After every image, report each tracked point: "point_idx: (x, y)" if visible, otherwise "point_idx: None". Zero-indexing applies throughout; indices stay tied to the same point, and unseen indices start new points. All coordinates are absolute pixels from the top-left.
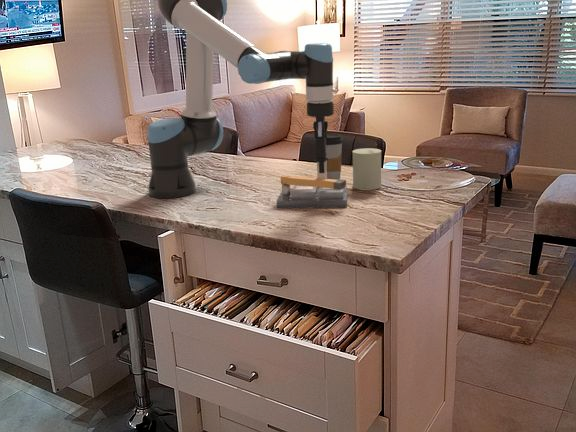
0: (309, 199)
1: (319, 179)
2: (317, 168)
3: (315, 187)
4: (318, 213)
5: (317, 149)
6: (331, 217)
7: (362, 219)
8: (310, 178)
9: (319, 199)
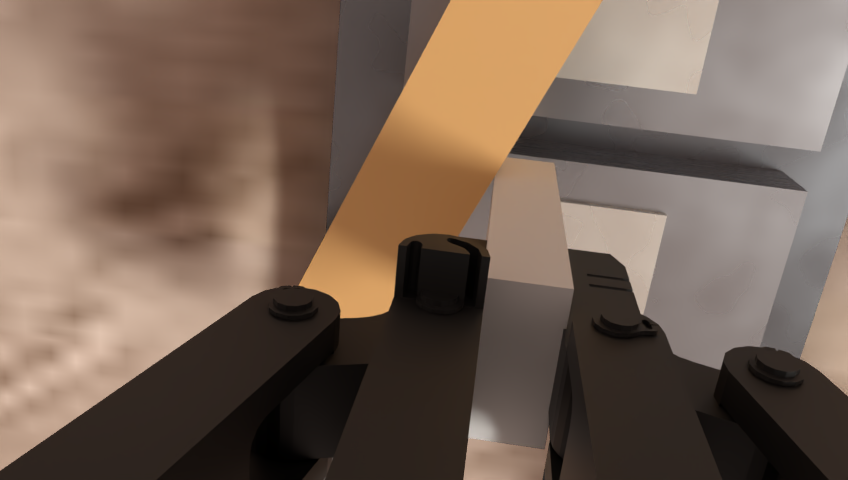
0: (389, 18)
1: (406, 201)
2: (489, 234)
3: (651, 115)
4: (154, 86)
5: (53, 468)
6: (42, 188)
7: (6, 396)
8: (495, 76)
9: (374, 127)
